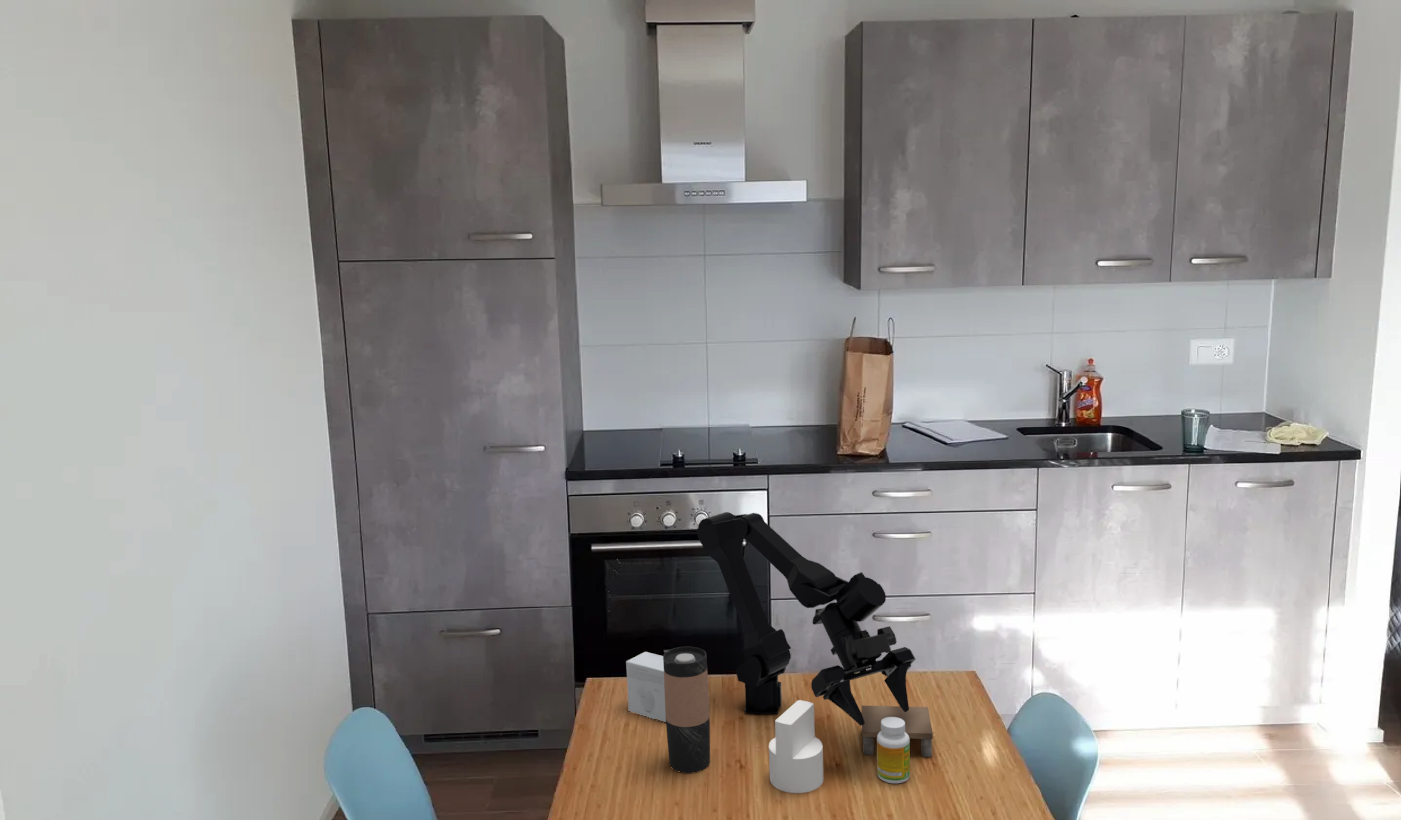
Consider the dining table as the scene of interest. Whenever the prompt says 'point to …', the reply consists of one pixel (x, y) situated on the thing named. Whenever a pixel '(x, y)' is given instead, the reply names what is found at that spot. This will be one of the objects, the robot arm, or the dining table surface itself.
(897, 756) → the supplement bottle
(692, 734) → the travel mug
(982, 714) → the dining table surface
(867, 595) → the robot arm
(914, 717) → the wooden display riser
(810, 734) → the base with upright slab
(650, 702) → the skincare box
